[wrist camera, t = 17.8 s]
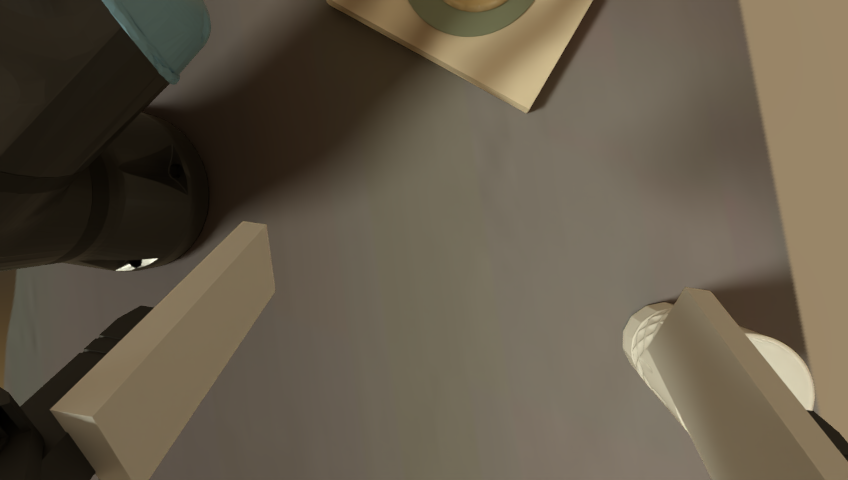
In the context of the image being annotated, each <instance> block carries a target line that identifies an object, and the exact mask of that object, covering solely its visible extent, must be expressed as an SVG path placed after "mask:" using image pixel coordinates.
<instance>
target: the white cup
mask: <svg viewBox="0 0 848 480" xmlns="http://www.w3.org/2000/svg"><path fill="white" fill-rule="evenodd" d="M673 306H674V304H671V303H667V302H662V303H657V304H652V305H647V306H645V307H643V308H642V309H641V310H639V311H638V312H636V313H635V314H634V315H632V316H631V318H630V319H629V321H628V323H627V325H626V327H625V329H624V331H623V350H624V352H625V354H626V356H627V358H628V360H629V362H630V364H631V365H632V366H633V367H634V368H635V369H636V371H637V372H638V373H639V375H640V376H641V377H642V379H643V380H644V382H645V383H646V384H647V385H648V386H649V387H650V389H651V390H652V391H653V393H654V394H655V395H656V396H657V397H658V398H659V400H660V401H661V402H662V403H663V404H664V405H665V406H666V408H667V409H668V410H669V411H670V412H671V413H672V414H673V416H674V417H675V418H676V419H677V420H678V421H679V423H680V424H681V425H682V426H683V427H684V428H685V429H686V431H687V432H688V430H687V428H686V426H685V424H684V422H683V420H682V418H681V416H680V414H679V412H678V410H677V408H676V406H675V404H674V402H673V400H672V398H671V396H670V394H669V392H668V390H667V388H666V386H665V384H664V382H663V380H662V378H661V376H660V374H659V372H658V370H657V367H656V365H655V363H654V361H653V359H652V357H651V355H650V353H649V351H648V349H647V348H648V346H649V345H650V343H651V341H652V340H653V338H654V336H655V335H656V333H657V332H658V330H659V328H660V327H661V325H662V324H663V322H664V320H665V319H666V317H667V315H668V314H669V312H670V311H671V309H672V307H673ZM738 326H739V325H738ZM739 327H740V328H741V330H742V331H743V332H744V333H745V334H746V336H747V337H748V338H749V339H750V341H751V342H752V343H753V344H754V346H755V347H756V348H757V349H758V351H759V352H760V353H761V354H762V356H763V357H764V358H765V359H766V361H767V362H768V363H769V364H770V366H771V367H772V368H773V369H774V371H775V372H776V373H777V374H778V376H779V377H780V378H781V379H782V380H783V382H784V383H785V384H786V385H787V387H788V388H789V389H790V390H791V392H792V393H793V394H794V395H795V397H796V398H797V399H798V400H799V402H800V403H801V404H802V405H803V407H804V408H805V409H806V410H811V411H812V410H813V407H814V401H815V389H814V383H813V379H812V376H811V373H810V371H809V369H808V367H807V365H806V364H805V362H804V361H803V360H802V358H801V357H800V356H799V355H798V354H797V353H796V352H795V351H794V350H792V349H791V348H790V347H788V346H787V345H785V344H784V343H782V342H780V341H778V340H776V339H774V338H771V337H768V336H766V335H763V334H760V333H758V332H755V331H752V330H750V329H747V328H744V327H742V326H739ZM688 433H689V432H688Z"/></svg>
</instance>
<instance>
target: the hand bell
mask: <svg viewBox="0 0 848 480" xmlns="http://www.w3.org/2000/svg"><path fill="white" fill-rule="evenodd" d="M443 1H444V2H445V3H447V4H448V5H450V6H452V7H453V8H456V9H458V10H461V11H466V12H483V11H488V10H491V9H494V8H496V7H498V6H500V5H502V4H503V3H505V2H506V1H507V0H443Z"/></svg>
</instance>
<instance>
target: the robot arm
mask: <svg viewBox="0 0 848 480" xmlns="http://www.w3.org/2000/svg"><path fill="white" fill-rule="evenodd" d="M210 31H211V21H210V16H209V12H208V10H207V7H206V5H205V3H204V1H203V0H0V271H6V270H13V269H20V268H27V267H34V266H41V265H47V264H55V263H68V264H74V265H81V266H87V267H93V268H100V269H106V270H112V271H138V270H143V269H148V268H154V267H158V266H162V265H165V264H167V263H170V262H172V261H173V260H175V259H177V258H178V257H180V256H181V255H182V254H184V253H185V252H186V251H187V250H188V249H189V248H190V247H191V246H192V244H193V243H194V242H195V240H196V239H197V237H198V236H199V234H200V232H201V230H202V227H203V225H204V222H205V219H206V215H207V210H208V203H209V189H208V181H207V176H206V172H205V169H204V166H203V163H202V161H201V159H200V157H199V155H198V153H197V151H196V150H195V148H194V146H193V145H192V144H191V142H190V141H189V140H188V139H187V138H186V136H185V135H184V134H183V133H182V132H180V131H179V130H178V129H177V128H176V127H174V126H173V125H171V124H170V123H168V122H167V121H165V120H163V119H161V118H158V117H155V116H153V115H149V114H146V113H142V111H143V110H144V109H145V108H146V107H147V106H148V105H149V104H150V103H151V102H152V101H153V100H154V99H155V98H156V97H157V96H158V95H159V94H160V93H161V92H162V91H163V90H164V89H165V88H166V87H167V86H168V85H169V84H173V85H174V84H176V83H177V82H178V81H179V79H180V75H179V74H180V73H181V71H182V70H183V69H184V68H185V67H186V66H187V65H188V64H189V62H190V61H191V60H192V59H193V58H194V57H195V56H196V54H197V53H198V52H199V51H200V50H201V49H202V48H203V47H204V45H205V44H206V42H207V40H208V38H209V36H210ZM275 291H276V290H275V283H274V276H273V269H272V261H271V254H270V247H269V239H268V232H267V225H266V224H259V223H252V222H246V221H243V222H242V223H241V224H240V225H239V226H237V227H236V228H235V229H234V230H233V231H232V232H231V233H230V234H229V235H228V236H227V237H226V238H225V239H224V240H223V241H222V242H221V243H220V244H219V245H218V246H217V247H216V248H215V249H214V250H213V251H212V252H211V253H210V254H209V255H208V256H207V257H206V258H205V259H204V260H203V261H202V262H201V263H200V264H199V265H198V266H197V267H195V268H194V269H193V270H192V271H191V272H190V273H189V274H188V275H187V276H186V277H185V278H184V279H183V280H182V281H181V282H180V283H179V284H178V285H177V286H176V287H175V288H174V289H173V290H172V291H171V292H170V293H169V294H168V295H167V296H166V297H165V298H164V299H163V300H162V301H161V302H160V303H159V304H158V305H157V306H156V307H154V308H153V307H147V306H139V307H138V308H136V309H134V310H132V311H130V312H129V313H127V314H125V315H123V316H121V317H120V318H118V319H117V320H115V321H114V322H113V323H112V324H111V325H110V326H109V327H108V328H107V329H106V330H104V331H103V332H102V333H101V334H100V335H99V338H98V339H95V340H93V341H92V342H91V343H90V344H89V345H88V346H87V347H86V348H85V349H84V352H83V353H79V354H78V355H77V356H76V357H75V358H74V359H72V360H71V361H70V362H69V363H68V364H67V365H66V366H65V367H64V368H62V369H61V370H60V371H59V372H58V373H57V374H56V375H55V376H54V377H53V378H51V379H50V380H49V381H48V382H47V383H46V384H45V385H44V386H43V387H42V388H40V389H39V390H38V391H37V392H36V393H35V394H34V395H33V396H32V397H30V398H29V399H28V400H27V401H26V402H25V403H24V404H23V405H22V406H20V407H19V405H18V404H17V403H16V401H15V400H14V399H13V398H12V396H11V395H10V394H9V392H7V391H5V390H4V389H2V388H0V480H90V479H91V478H92V476H93V475H94V474H96V475H97V477H98V478H99V480H149V478H150V477H151V475H152V474H153V473H154V471H155V470H156V468H157V467H158V465H159V464H160V462H161V461H162V459H163V458H164V456H165V455H166V453H167V452H168V450H169V449H170V447H171V446H172V444H173V443H174V441H175V440H176V438H177V437H178V435H179V434H180V432H181V431H182V429H183V428H184V426H185V425H186V423H187V422H188V420H189V419H190V417H191V416H192V414H193V413H194V411H195V410H196V409H197V407H198V406H199V404H200V403H201V401H202V400H203V398H204V397H205V395H206V394H207V392H208V391H209V389H210V388H211V386H212V385H213V383H214V382H215V380H216V379H217V377H218V376H219V374H220V373H221V371H222V370H223V368H224V367H225V365H226V364H227V362H228V361H229V359H230V358H231V356H232V355H233V353H234V352H235V350H236V349H237V347H238V346H239V345H240V343H241V342H242V340H243V339H244V337H245V336H246V334H247V333H248V331H249V330H250V328H251V327H252V325H253V324H254V322H255V321H256V319H257V318H258V316H259V315H260V313H261V312H262V310H263V309H264V307H265V306H266V304H267V303H268V301H269V300H270V298H271V297H272V295H273V294H274V292H275ZM647 349H648V351H649V353H650V355H651V357H652V359H653V361H654V363H655V365H656V367H657V370H658V372H659V374H660V376H661V378H662V380H663V382H664V384H665V386H666V388H667V390H668V392H669V394H670V396H671V398H672V400H673V402H674V404H675V406H676V408H677V410H678V412H679V414H680V416H681V418H682V420H683V422H684V424H685V426H686V428H687V430H688V432H689V434H690V436H691V438H692V440H693V443H694V445H695V447H696V449H697V451H698V453H699V455H700V457H701V459H702V461H703V463H704V465H705V467H706V469H707V471H708V473H709V475H710V477H711V479H712V480H848V443H847V441H846V440H845V439H844V438H843V437H842V436H841V434H840V433H839V432H838V431H836V430H835V429H834V428H833V427H832V426H831V425H829V424H828V423H827V422H826V421H825V420H823V419H822V418H821V417H820V416H819V415H818V414H816V413H815V412H814V411H811V410H806V409H805V408H804V407H803V405H802V404H801V403H800V402H799V400H798V399H797V398H796V397H795V395H794V394H793V393H792V392H791V390H790V389H789V388H788V387H787V385H786V384H785V383H784V382H783V380H782V379H781V378H780V377H779V376H778V374H777V373H776V372H775V371H774V369H773V368H772V367H771V366H770V364H769V363H768V362H767V361H766V359H765V358H764V357H763V356H762V354H761V353H760V352H759V351H758V349H757V348H756V347H755V346H754V344H753V343H752V342H751V341H750V339H749V338H748V337H747V336H746V334H745V333H744V332H743V331H742V330H741V328H740V327H739V326H738V325H737V323H736V322H735V321H734V320H733V318H732V317H731V316H730V315H729V313H728V312H727V311H726V310H725V308H724V307H723V306H722V305H721V303H720V302H719V301H718V300H717V298H716V297H715V296H714V295H713V293H712V292H711V291H708V290H701V289H695V288H688V287H685V288H684V289H683V291H682V293H681V294H680V296H679V298H678V299H677V301H676V302H675V304H674V306H673V307H672V309H671V311H670V312H669V314H668V315H667V317H666V319H665V320H664V322H663V324H662V325H661V327H660V328H659V330H658V332H657V333H656V335H655V336H654V338H653V340H652V341H651V343H650V345H649V346H648V348H647Z"/></svg>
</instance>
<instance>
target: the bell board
mask: <svg viewBox="0 0 848 480" xmlns="http://www.w3.org/2000/svg"><path fill="white" fill-rule="evenodd" d="M592 1H593V0H507V1H506V2H505V3H503V4H502V5H500V6H498V7H496V8H494V9H491V10H488V11H483V12H466V11H461V10H458V9H456V8H453V7H452V6H450V5H448V4H447V3H445V2H444V1H443V0H326V2H327V3H328V4H329V5H330V6H332V7H334V8H336V9H338V10H339V11H341V12H343V13H345V14H347V15H349V16H350V17H352V18H354V19H356V20H358V21H359V22H361V23H363V24H365V25H367V26H369V27H370V28H372V29H374V30H376V31H378V32H379V33H381V34H383V35H385V36H387V37H389V38H390V39H392V40H394V41H396V42H398V43H399V44H401V45H403V46H405V47H407V48H409V49H410V50H412V51H414V52H416V53H418V54H419V55H421V56H423V57H425V58H427V59H428V60H430V61H432V62H434V63H436V64H438V65H439V66H441V67H443V68H445V69H447V70H448V71H450V72H452V73H454V74H456V75H458V76H459V77H461V78H463V79H465V80H467V81H468V82H470V83H472V84H474V85H476V86H478V87H479V88H481V89H483V90H485V91H487V92H488V93H490V94H492V95H494V96H496V97H498V98H499V99H501V100H503V101H505V102H507V103H508V104H510V105H512V106H514V107H516V108H517V109H519V110H521V111H523V112H525V113H527V112H528V111H529V109H530V107H531V106H532V104H533V102H534V101H535V99H536V97H537V95H538V94H539V92H540V90H541V89H542V87H543V85H544V83H545V82H546V80H547V78H548V77H549V75H550V73H551V71H552V70H553V68H554V66H555V65H556V63H557V61H558V59H559V58H560V56H561V54H562V53H563V51H564V49H565V47H566V46H567V44H568V42H569V41H570V39H571V37H572V35H573V34H574V32H575V30H576V29H577V27H578V25H579V23H580V22H581V20H582V18H583V16H584V15H585V13H586V11H587V10H588V8H589V6H590V4H591V3H592Z"/></svg>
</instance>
